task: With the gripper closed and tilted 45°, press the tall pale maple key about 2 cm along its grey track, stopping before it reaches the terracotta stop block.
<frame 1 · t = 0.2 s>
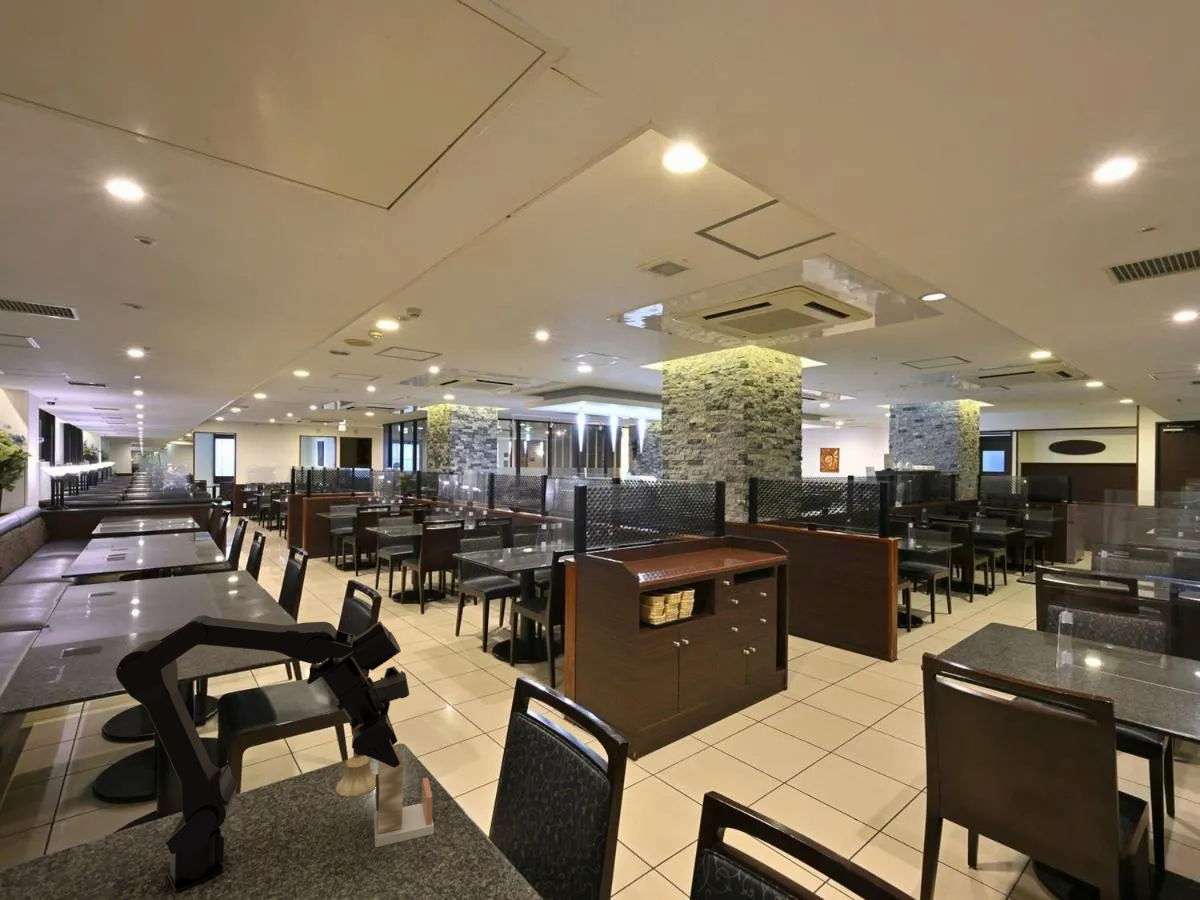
hand: (396, 753, 106), 15 cm above the table, tool tilted 30°, fingers open, 9 cm apart
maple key: (388, 791, 107), point 7 cm above the table, slide at 0.0 cm
hand bell: (357, 786, 121), on the table
key base: (377, 833, 106), on the table
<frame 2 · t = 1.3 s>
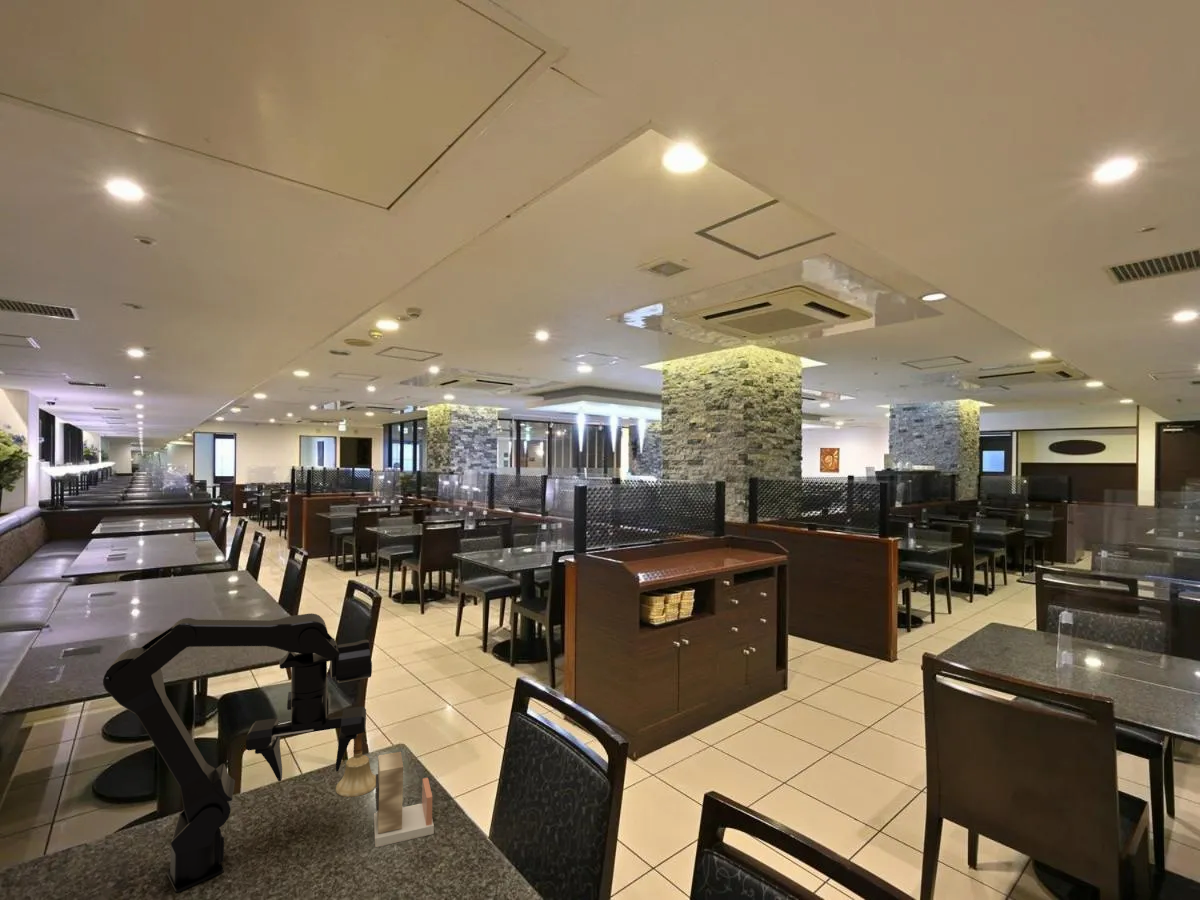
hand: (309, 775, 103), 12 cm above the table, tool pointing down, fingers open, 9 cm apart
nothing on the table moved.
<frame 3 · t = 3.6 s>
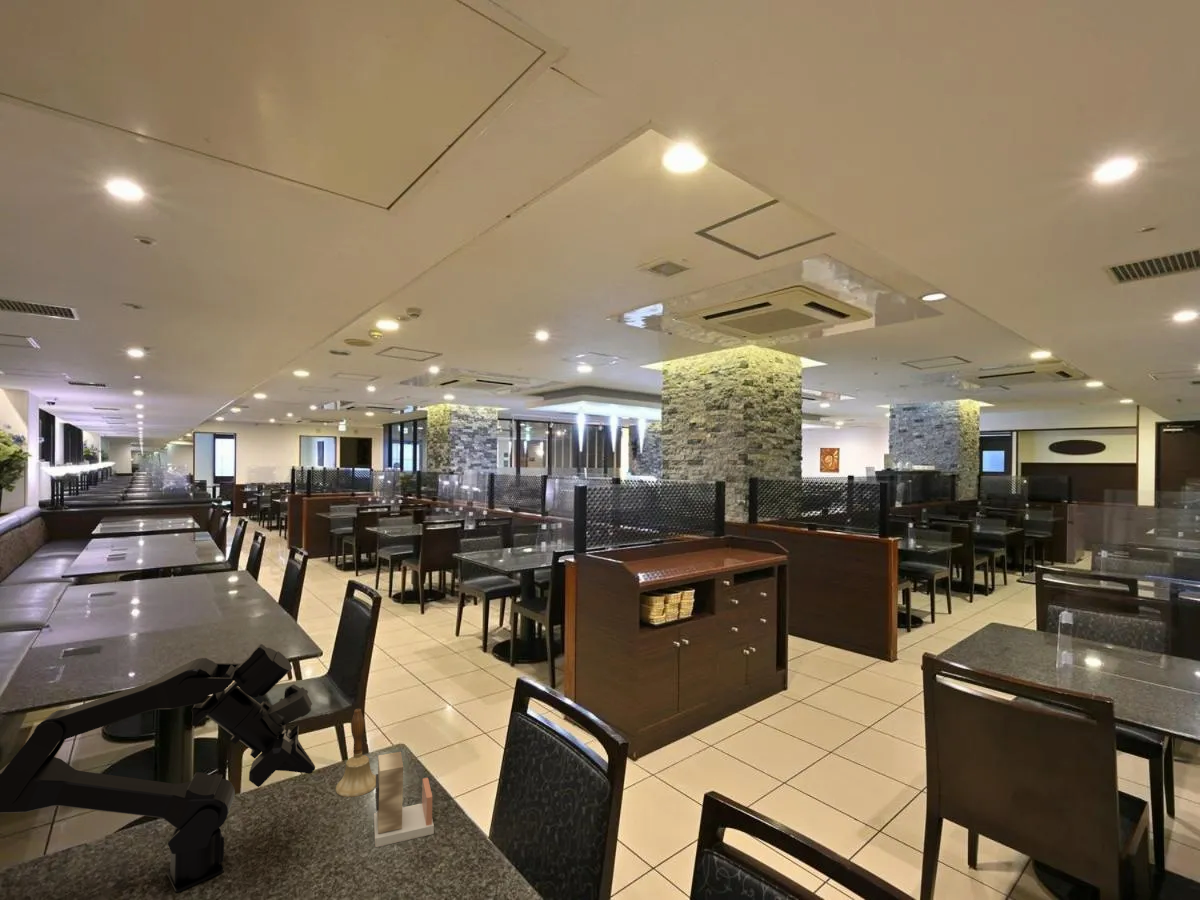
hand: (313, 770, 102), 14 cm above the table, tool tilted 45°, fingers closed
nothing on the table moved.
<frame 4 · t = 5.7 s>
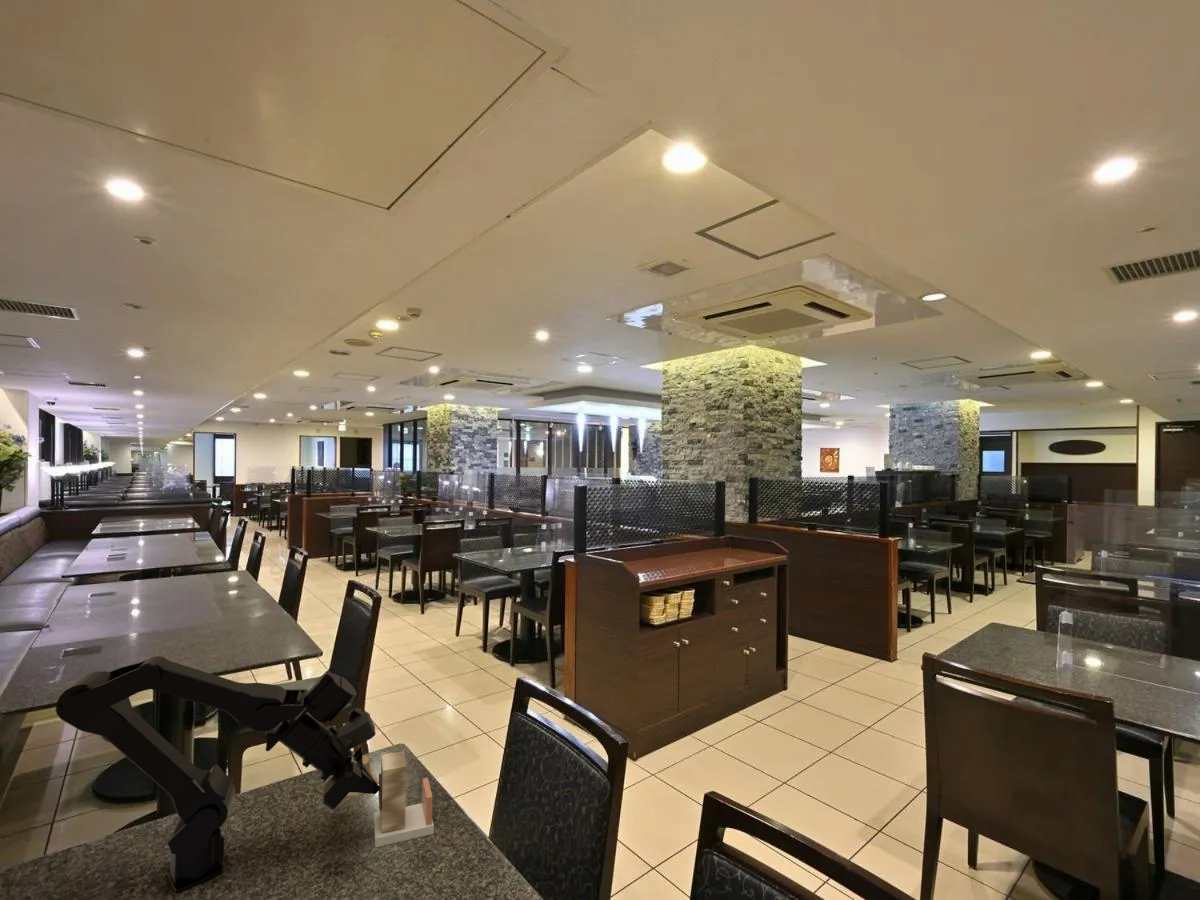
hand: (377, 790, 106), 8 cm above the table, tool tilted 45°, fingers closed, pressing on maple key
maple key: (391, 790, 107), point 7 cm above the table, slide at 0.5 cm, touching gripper
everything else where it was.
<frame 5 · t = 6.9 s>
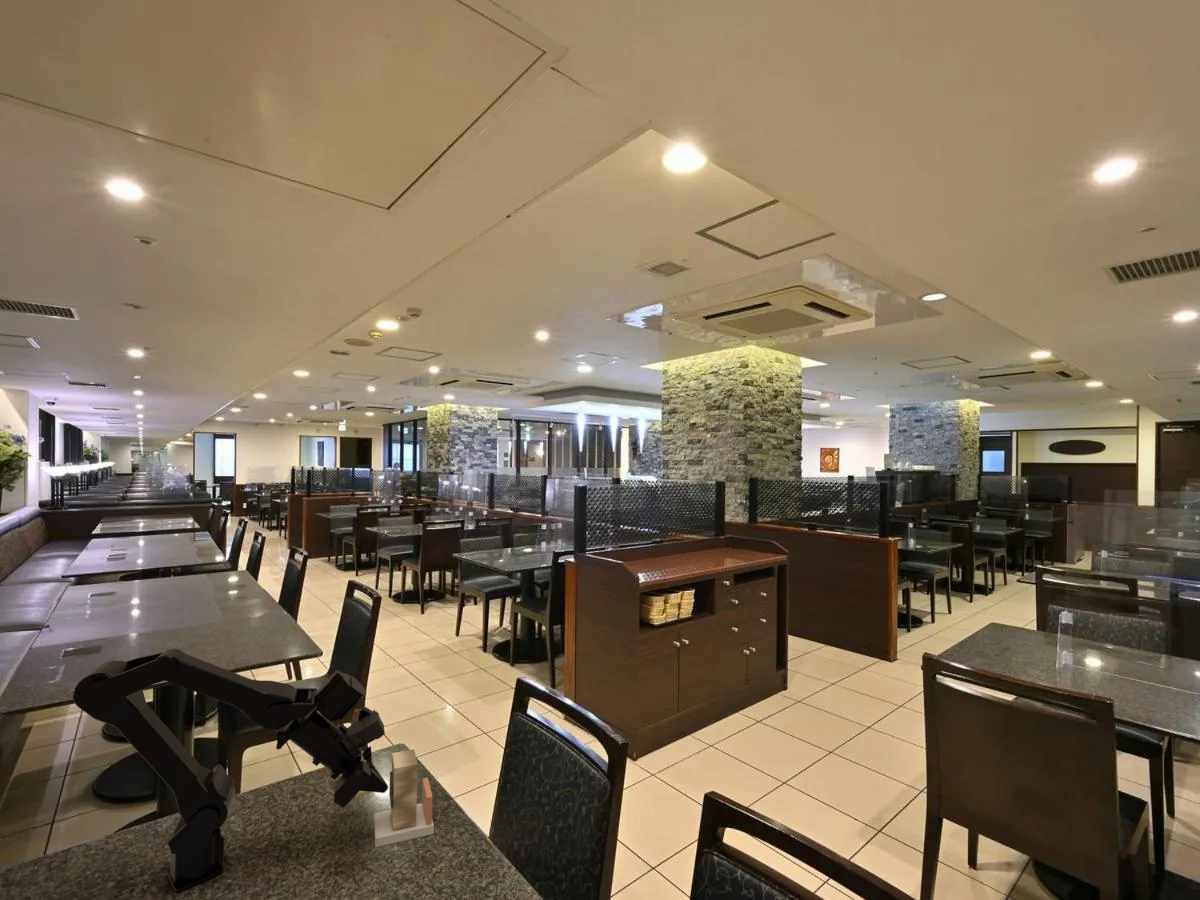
hand: (386, 789, 107), 8 cm above the table, tool tilted 45°, fingers closed
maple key: (402, 788, 108), point 7 cm above the table, slide at 2.5 cm
everything else where it was.
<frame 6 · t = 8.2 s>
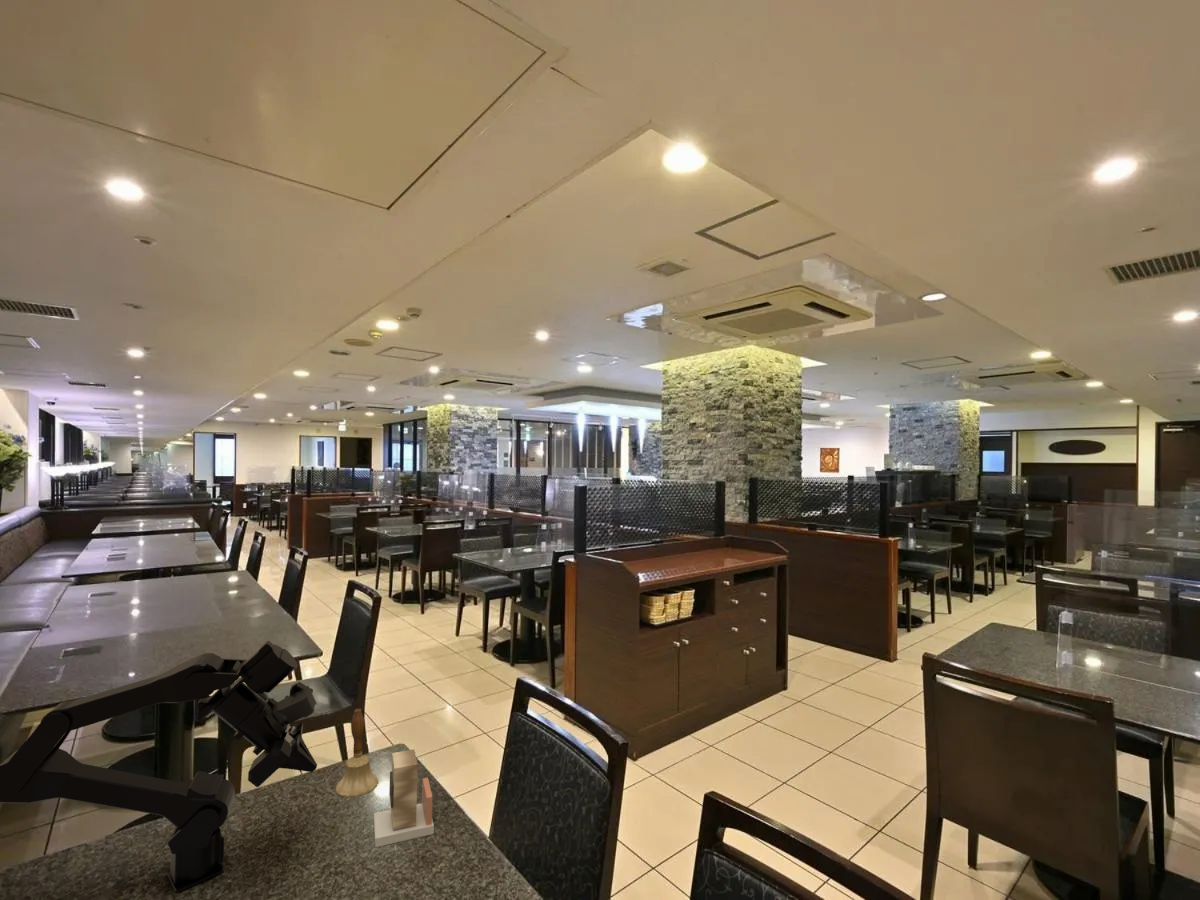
hand: (314, 768, 102), 14 cm above the table, tool tilted 45°, fingers closed
nothing on the table moved.
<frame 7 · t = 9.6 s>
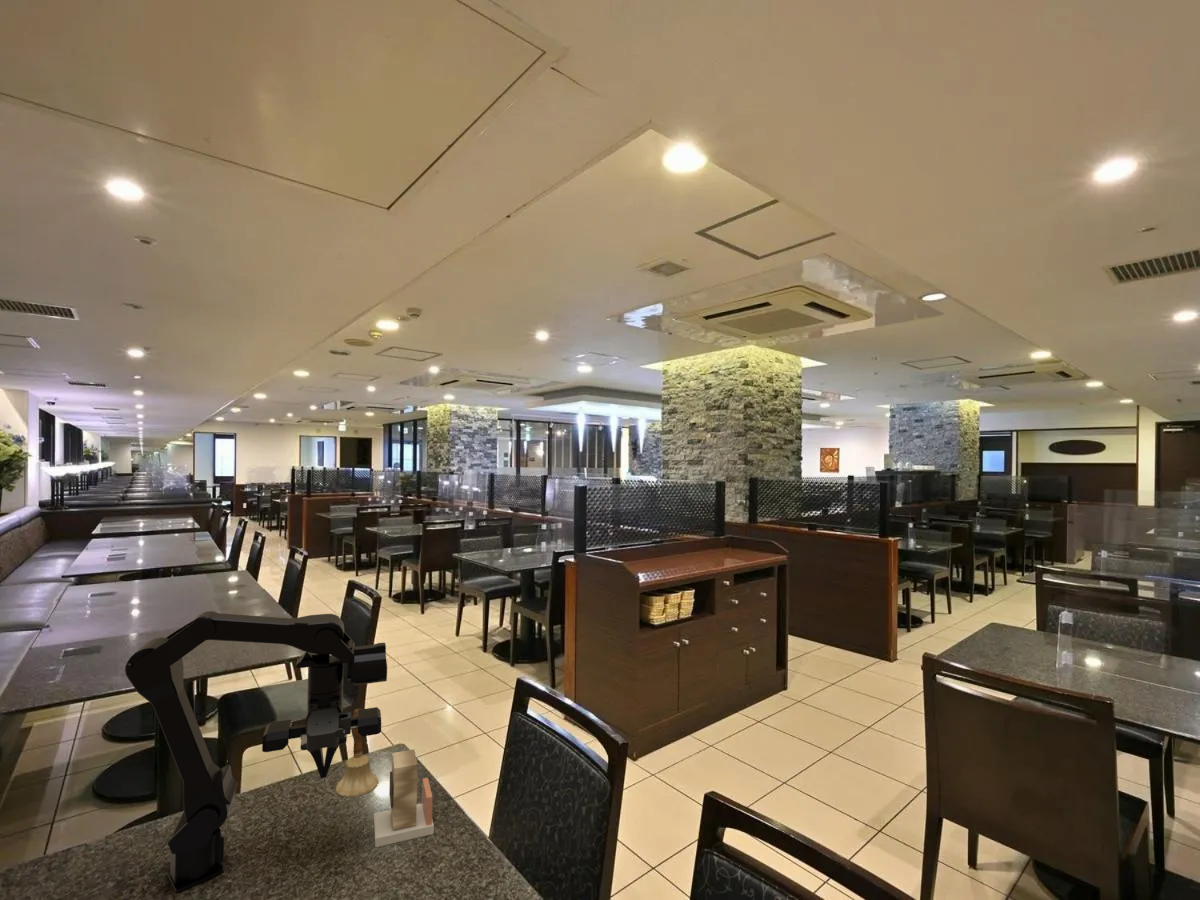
hand: (323, 776, 103), 12 cm above the table, tool pointing down, fingers closed
nothing on the table moved.
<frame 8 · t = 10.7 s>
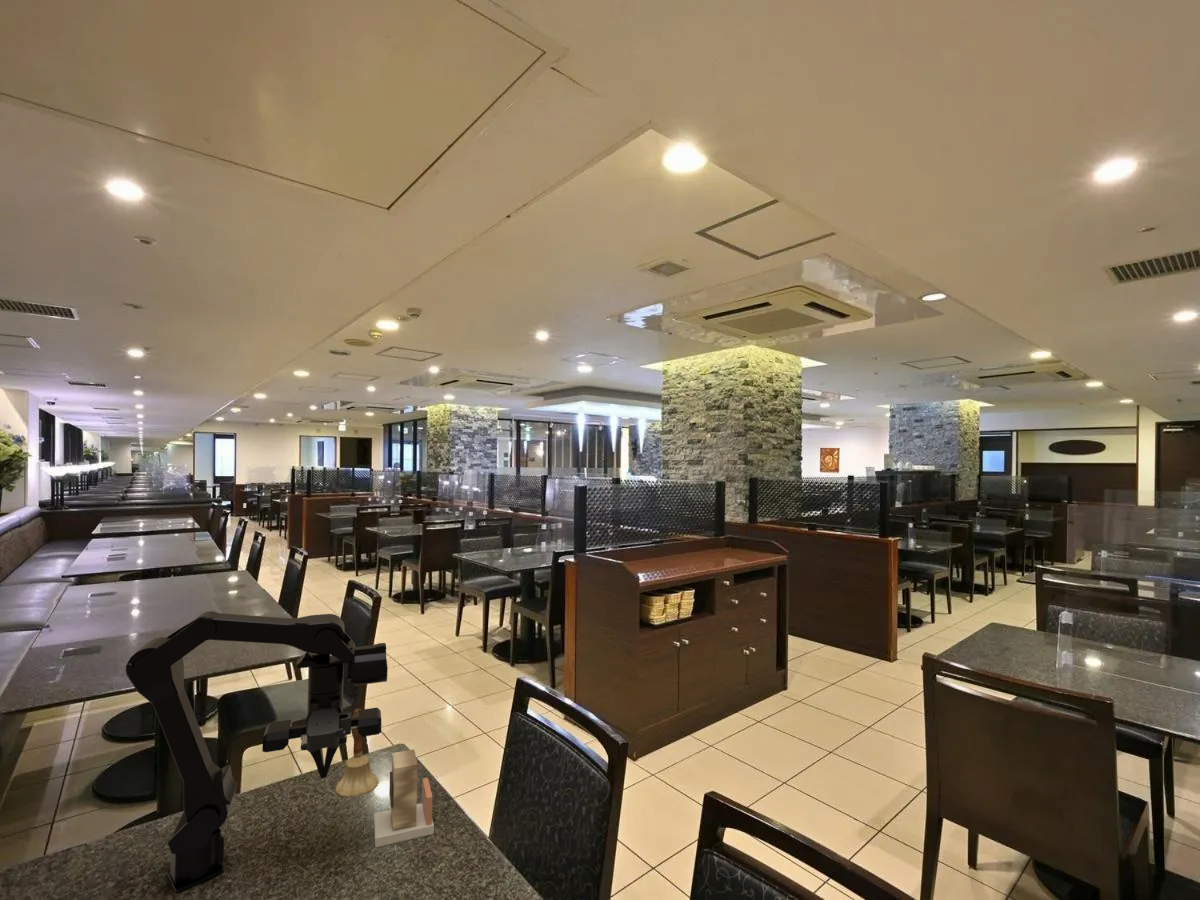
hand: (323, 777, 103), 12 cm above the table, tool pointing down, fingers closed
nothing on the table moved.
at the end: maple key slide at 2.5 cm; hand bell moved 0.3 cm from its start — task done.
